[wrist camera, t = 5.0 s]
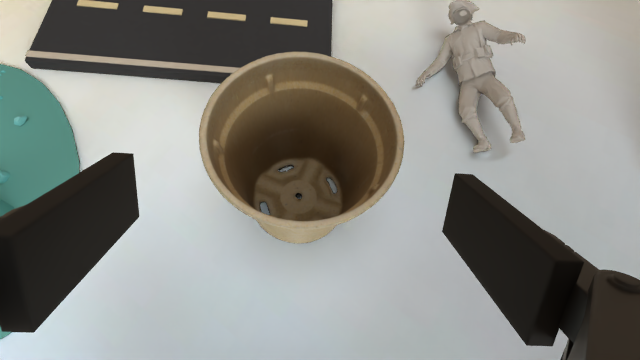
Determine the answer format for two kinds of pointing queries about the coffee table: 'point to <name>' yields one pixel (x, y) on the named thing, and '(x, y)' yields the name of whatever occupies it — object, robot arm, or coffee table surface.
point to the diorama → (31, 141)
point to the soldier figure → (476, 69)
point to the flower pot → (301, 142)
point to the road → (176, 35)
